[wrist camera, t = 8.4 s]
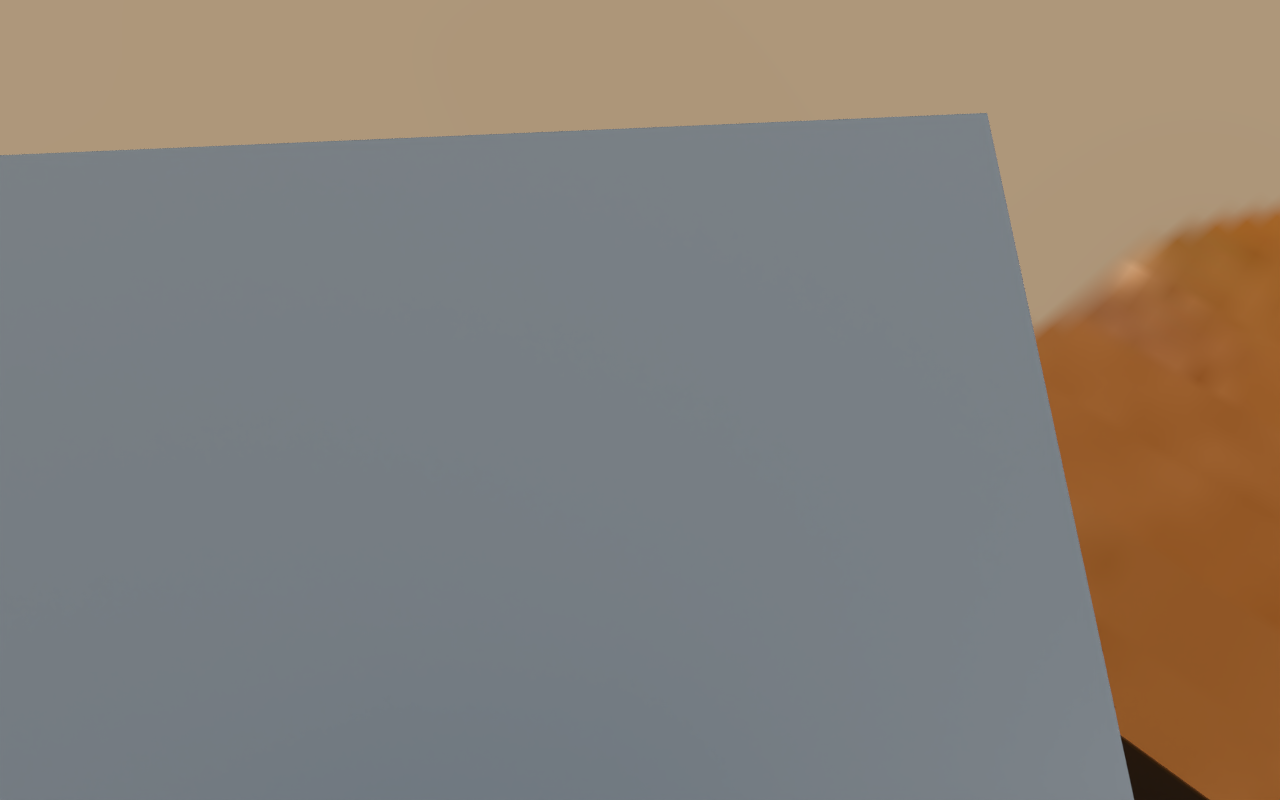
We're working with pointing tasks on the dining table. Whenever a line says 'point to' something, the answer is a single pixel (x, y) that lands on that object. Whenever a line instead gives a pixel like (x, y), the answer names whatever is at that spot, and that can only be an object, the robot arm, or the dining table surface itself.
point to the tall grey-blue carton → (537, 474)
